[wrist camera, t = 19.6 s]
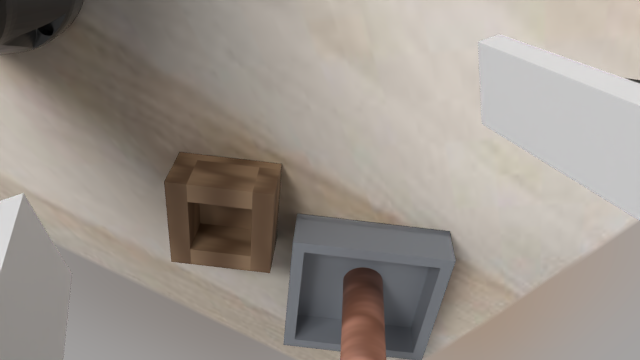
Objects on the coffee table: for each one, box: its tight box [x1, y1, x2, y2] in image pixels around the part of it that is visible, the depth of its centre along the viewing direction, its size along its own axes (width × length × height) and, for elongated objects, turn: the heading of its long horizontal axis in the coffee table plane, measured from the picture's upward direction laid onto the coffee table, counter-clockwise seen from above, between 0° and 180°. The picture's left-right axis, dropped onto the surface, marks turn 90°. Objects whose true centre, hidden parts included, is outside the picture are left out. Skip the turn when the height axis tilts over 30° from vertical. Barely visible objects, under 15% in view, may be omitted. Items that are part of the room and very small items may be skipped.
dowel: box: [340, 267, 386, 360], centre depth 54 cm, size 4×4×14 cm
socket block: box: [164, 152, 281, 273], centre depth 53 cm, size 10×10×5 cm
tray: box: [284, 214, 456, 360], centre depth 59 cm, size 16×16×4 cm
